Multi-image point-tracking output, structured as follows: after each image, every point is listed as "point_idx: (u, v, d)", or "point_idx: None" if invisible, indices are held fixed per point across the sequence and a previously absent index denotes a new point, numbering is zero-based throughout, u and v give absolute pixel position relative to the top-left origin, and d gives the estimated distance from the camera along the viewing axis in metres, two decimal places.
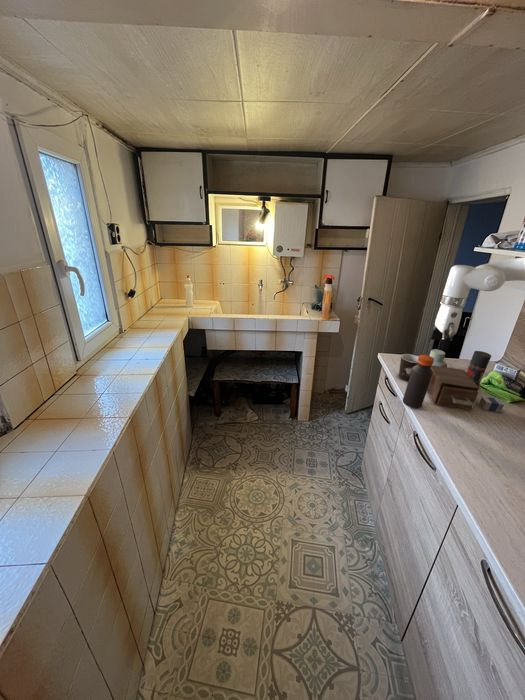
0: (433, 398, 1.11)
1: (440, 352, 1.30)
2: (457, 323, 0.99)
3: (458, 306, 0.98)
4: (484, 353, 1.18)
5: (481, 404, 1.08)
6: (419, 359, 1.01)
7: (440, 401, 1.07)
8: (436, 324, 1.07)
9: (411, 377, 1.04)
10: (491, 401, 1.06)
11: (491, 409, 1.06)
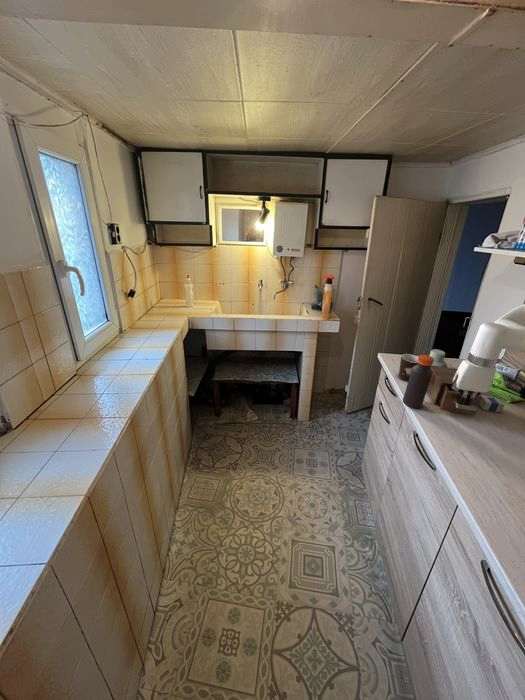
0: (433, 398, 1.11)
1: (440, 352, 1.30)
2: None
3: None
4: None
5: (481, 404, 1.08)
6: (419, 359, 1.01)
7: (443, 406, 1.04)
8: (468, 387, 0.95)
9: (411, 377, 1.04)
10: (491, 401, 1.06)
11: (491, 409, 1.06)
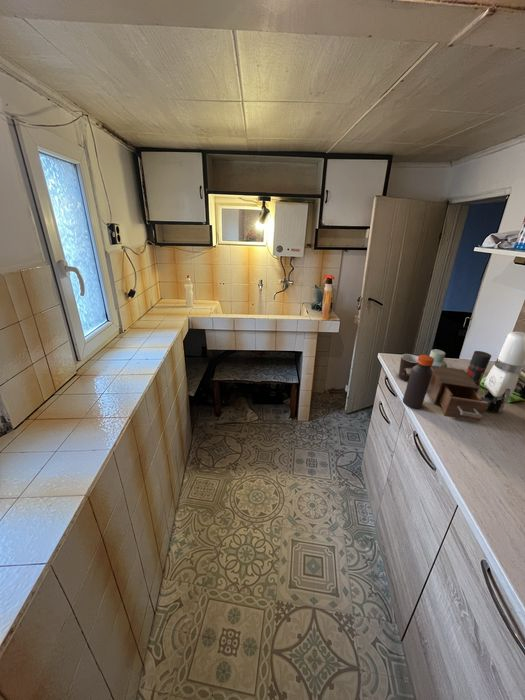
0: (433, 398, 1.11)
1: (440, 352, 1.30)
2: None
3: None
4: (484, 353, 1.18)
5: None
6: (419, 359, 1.01)
7: (446, 412, 1.00)
8: None
9: (411, 377, 1.04)
10: (491, 401, 1.06)
11: None
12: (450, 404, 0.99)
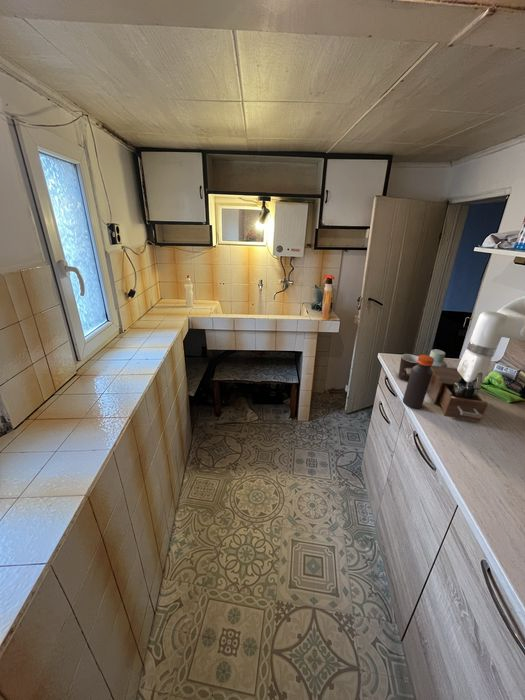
0: (433, 398, 1.11)
1: (440, 352, 1.30)
2: None
3: None
4: None
5: (454, 391, 1.02)
6: (419, 359, 1.01)
7: (446, 412, 1.00)
8: None
9: (411, 377, 1.04)
10: (464, 387, 0.99)
11: None
12: (450, 404, 0.99)
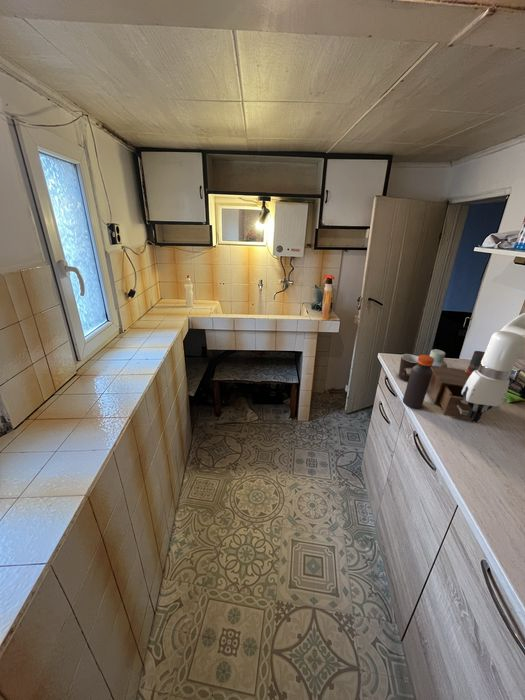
0: (433, 398, 1.11)
1: (440, 352, 1.30)
2: None
3: None
4: None
5: None
6: (419, 359, 1.01)
7: (446, 411, 1.01)
8: (479, 400, 0.88)
9: (411, 377, 1.04)
10: None
11: None
12: (449, 403, 0.99)
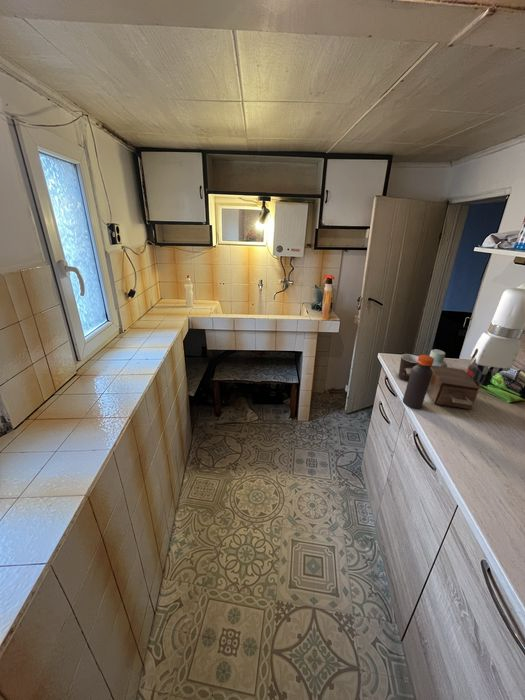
0: (433, 398, 1.11)
1: (440, 352, 1.30)
2: None
3: None
4: None
5: None
6: (419, 359, 1.01)
7: (440, 400, 1.07)
8: (489, 362, 0.85)
9: (411, 377, 1.04)
10: None
11: None
12: (443, 392, 1.06)
